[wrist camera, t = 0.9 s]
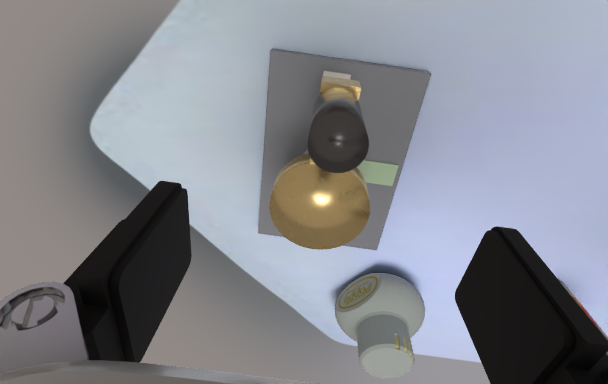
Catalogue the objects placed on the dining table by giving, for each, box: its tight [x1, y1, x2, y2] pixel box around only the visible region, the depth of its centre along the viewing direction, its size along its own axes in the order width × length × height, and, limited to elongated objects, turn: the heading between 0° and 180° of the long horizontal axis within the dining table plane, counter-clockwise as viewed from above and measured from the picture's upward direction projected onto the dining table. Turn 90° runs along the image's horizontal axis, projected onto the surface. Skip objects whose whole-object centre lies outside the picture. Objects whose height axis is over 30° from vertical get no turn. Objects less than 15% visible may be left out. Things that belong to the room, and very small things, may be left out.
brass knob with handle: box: [269, 76, 370, 249], centre depth 24 cm, size 8×14×8 cm, turn 173°
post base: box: [258, 49, 431, 250], centre depth 32 cm, size 14×20×7 cm
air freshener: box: [335, 273, 425, 378], centre depth 40 cm, size 11×8×10 cm
